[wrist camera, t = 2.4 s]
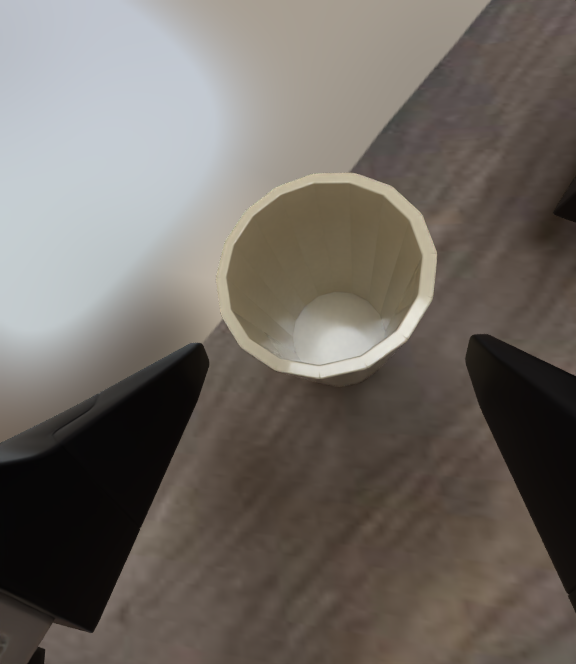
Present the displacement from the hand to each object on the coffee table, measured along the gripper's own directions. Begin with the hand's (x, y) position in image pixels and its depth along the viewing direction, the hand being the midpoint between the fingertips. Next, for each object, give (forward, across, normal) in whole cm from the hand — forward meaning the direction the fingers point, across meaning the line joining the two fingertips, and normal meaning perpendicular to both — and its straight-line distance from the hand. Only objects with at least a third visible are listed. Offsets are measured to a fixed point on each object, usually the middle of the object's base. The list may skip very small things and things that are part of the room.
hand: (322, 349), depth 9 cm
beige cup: (+8, 0, +5) cm, 10 cm away
